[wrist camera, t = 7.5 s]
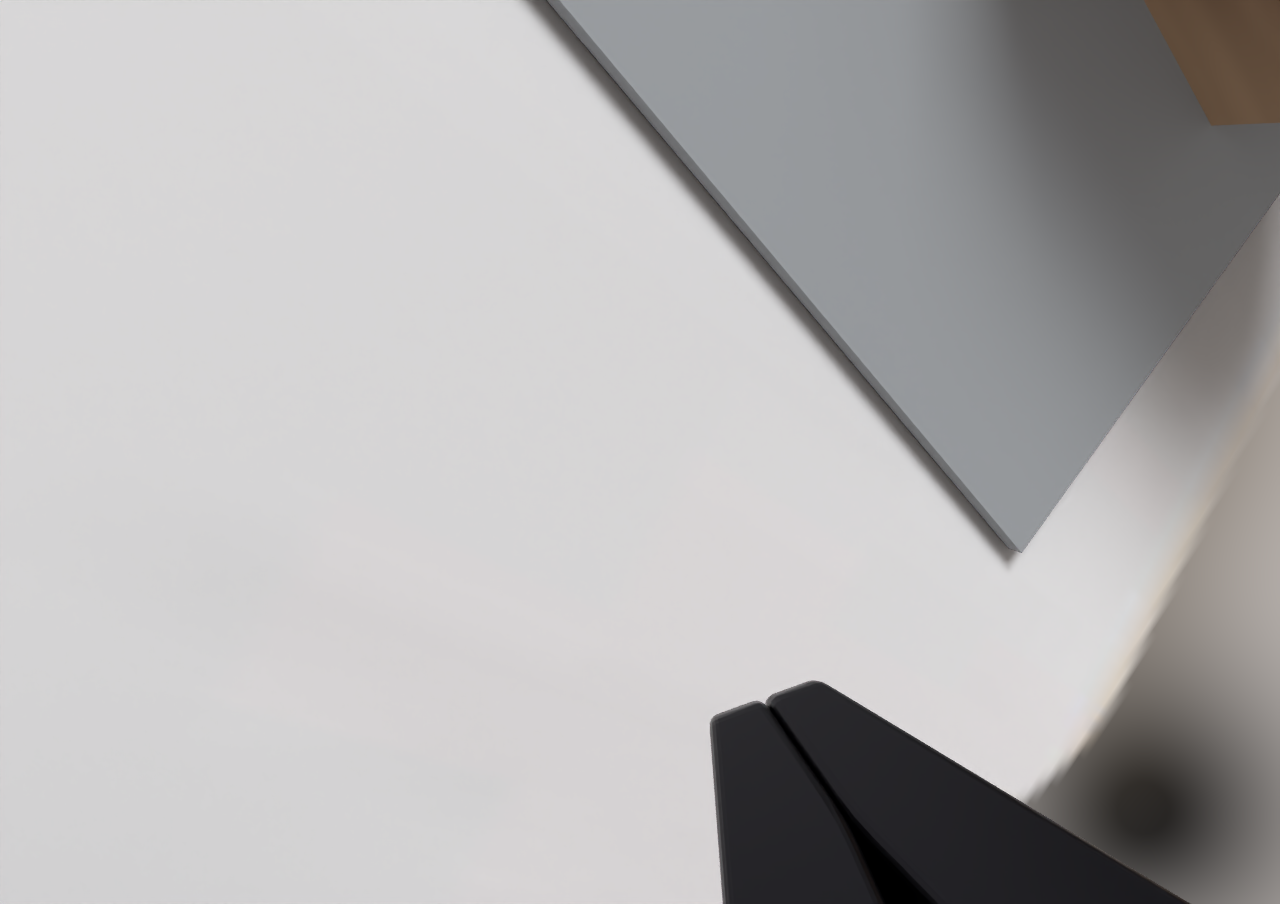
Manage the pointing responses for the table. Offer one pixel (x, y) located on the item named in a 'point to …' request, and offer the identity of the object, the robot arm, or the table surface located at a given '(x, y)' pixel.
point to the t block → (1226, 55)
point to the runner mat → (960, 201)
